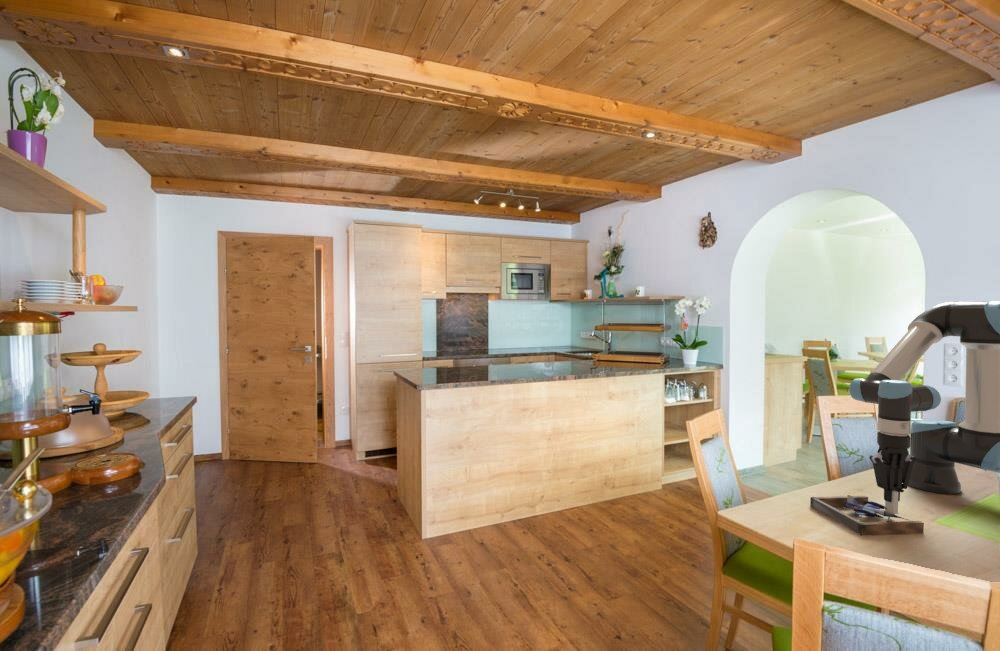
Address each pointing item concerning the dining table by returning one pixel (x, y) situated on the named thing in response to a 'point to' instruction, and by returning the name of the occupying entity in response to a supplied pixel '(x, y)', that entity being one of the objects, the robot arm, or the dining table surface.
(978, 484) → the dining table surface
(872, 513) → the toy airplane
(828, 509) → the frame
